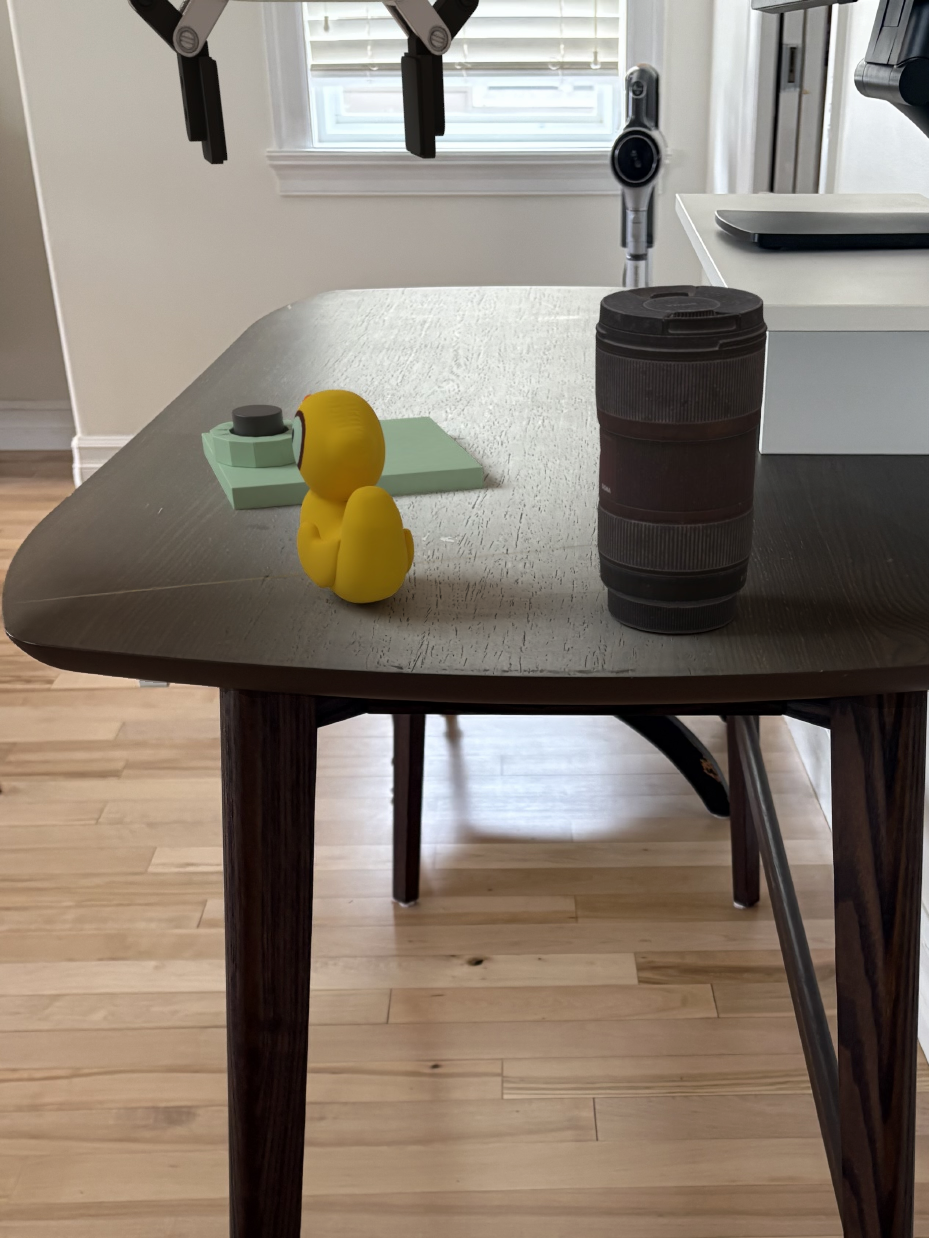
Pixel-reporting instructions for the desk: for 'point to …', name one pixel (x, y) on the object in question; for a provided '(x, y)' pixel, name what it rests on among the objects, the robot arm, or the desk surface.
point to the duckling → (347, 500)
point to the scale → (273, 479)
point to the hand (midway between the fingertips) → (320, 158)
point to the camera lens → (677, 451)
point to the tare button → (258, 421)
